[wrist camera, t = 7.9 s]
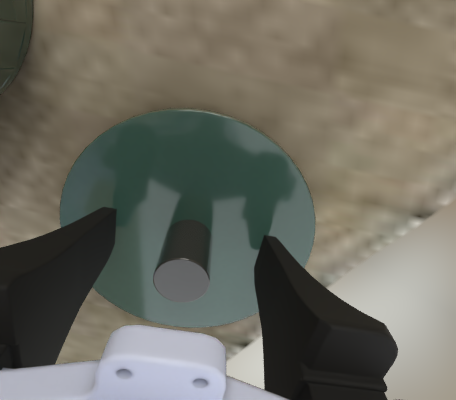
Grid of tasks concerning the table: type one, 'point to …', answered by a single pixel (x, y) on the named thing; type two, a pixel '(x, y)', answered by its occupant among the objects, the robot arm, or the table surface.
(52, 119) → the table surface
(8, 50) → the pot
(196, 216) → the pot lid
